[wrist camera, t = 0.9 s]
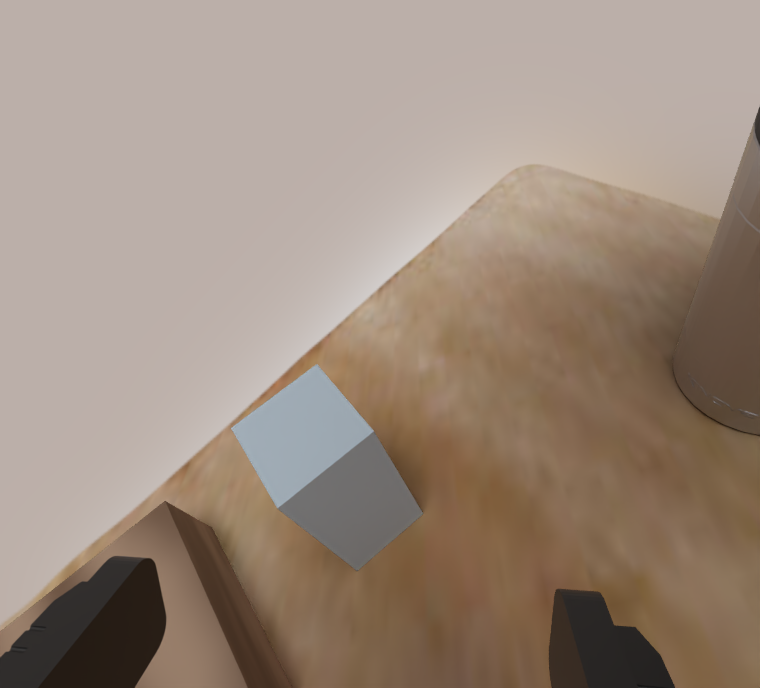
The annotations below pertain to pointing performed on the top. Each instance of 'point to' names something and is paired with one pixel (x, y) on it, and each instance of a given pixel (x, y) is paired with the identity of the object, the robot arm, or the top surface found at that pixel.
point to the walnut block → (185, 608)
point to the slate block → (327, 469)
